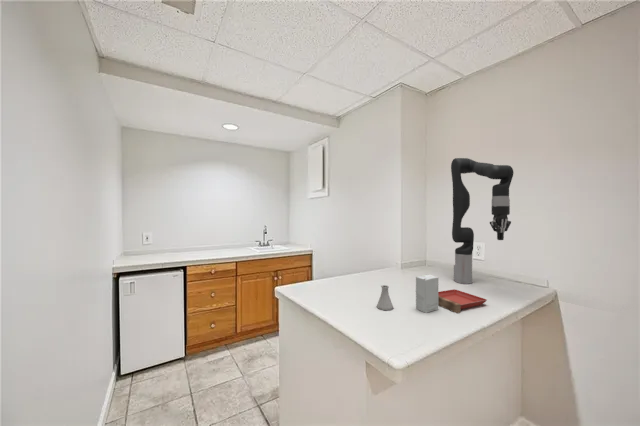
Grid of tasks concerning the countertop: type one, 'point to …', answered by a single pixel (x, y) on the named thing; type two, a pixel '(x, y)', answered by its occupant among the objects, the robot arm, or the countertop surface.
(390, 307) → the flask
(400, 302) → the countertop surface
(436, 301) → the skincare box
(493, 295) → the countertop surface
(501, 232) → the robot arm
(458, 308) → the bar
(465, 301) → the plant saucer
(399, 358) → the countertop surface
